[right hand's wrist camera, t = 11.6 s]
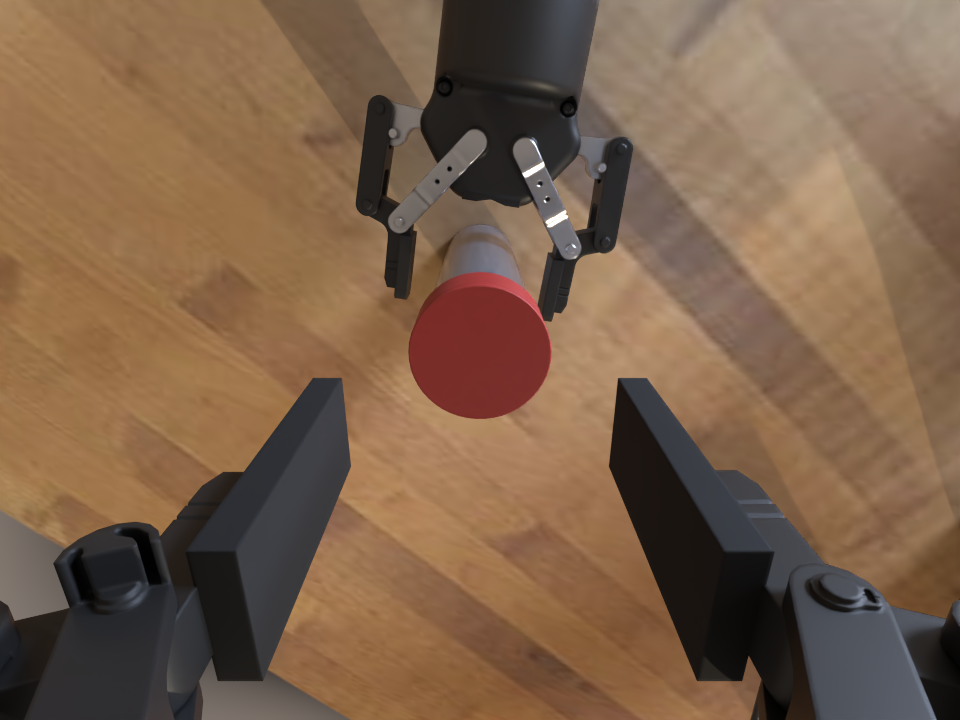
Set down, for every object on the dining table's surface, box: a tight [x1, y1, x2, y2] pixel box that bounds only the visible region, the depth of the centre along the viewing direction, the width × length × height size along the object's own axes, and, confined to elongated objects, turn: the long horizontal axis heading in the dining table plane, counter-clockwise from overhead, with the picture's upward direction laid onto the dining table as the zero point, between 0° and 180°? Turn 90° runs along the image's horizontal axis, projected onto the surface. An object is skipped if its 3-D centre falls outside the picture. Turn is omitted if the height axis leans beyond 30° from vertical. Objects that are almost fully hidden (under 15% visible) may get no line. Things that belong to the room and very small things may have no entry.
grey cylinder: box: [434, 224, 526, 290], centre depth 28 cm, size 5×5×18 cm
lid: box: [409, 272, 551, 419], centre depth 20 cm, size 5×5×2 cm
